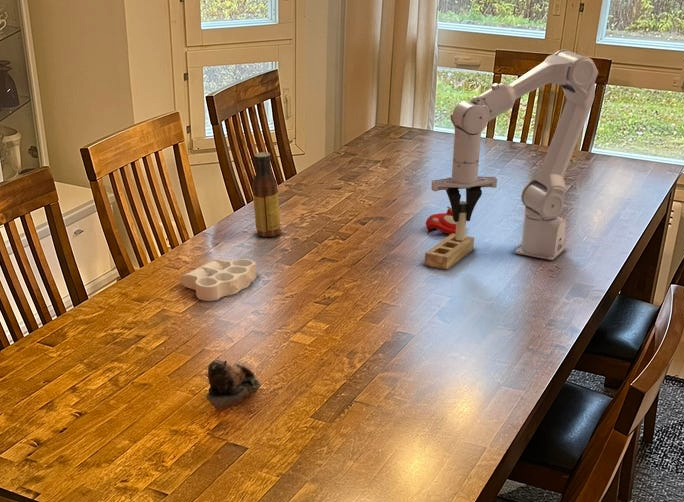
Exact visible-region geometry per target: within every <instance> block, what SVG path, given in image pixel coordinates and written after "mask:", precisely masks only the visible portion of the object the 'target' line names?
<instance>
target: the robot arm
mask: <svg viewBox="0 0 684 502" xmlns="http://www.w3.org/2000/svg"><path fill="white" fill-rule="evenodd" d="M598 75H599V70H598V68H597V66H596V64H595V62H594V60H593V59H592V58H591V57H588V56H583V55H580V54H578V53H575V52H573V51H571V50H570V49H565V48H564V49H563V48H561V49H559V50H558V51H556V52H554V53H553V54H550V55H548V56H547V57H546V58H545V59H544V61H542V62H541V63H539V64H538V65H536V66H535V67H533V68H531V69H530V70H528V72H526V73H525V74H522V75H521V76H520V77H518V78H517V79H515V80H513V81H512V82H510V83H509V84H506V83H503V82H499V83H498V82H495V83H492V84H491V85H490V87H491V88H490V89H487V90H486V91H484V92H483V93H481V94H479V95H474V96H472V99H471V100H462V101H460V102H458V103H457V104H456V105H455V107H454V109H453V111H452V113H451V114H450V121H451V123H452V125H453V128H454V138H453V151H452V169H451V177H446V178H440V179H433V180H431V191H432V192H433V193H434V192H439V191H445V192H446V195H447V197H448V200H449V203H450V208H452V213H453V220H454V221H455V222H458V219H459V204H460V202H461V198H462V195H461V193H460V190H462V189H463V190H464V189H465V202H467V203H468V204H467V217H466V222H470V221H471V218H472V215H473V212H474V209H475V207H476V205H477V203H478V201H479V200H480V198H481V197H482V194H483V190H482V188H483V189H484V188H491V189H496V188H497V186H498V178H496V176H482V175H479V167H480V165H479V163H480V153H481V152H480V151H481V140H482V132H483V131H484V129H485V128H486V127H487V124H488V123H489V122H491V121H492V120H493V119H496V118H497V117H499V116H501V115H503V114H505V113H506V112H508V111H509V110H511V109H513V107H514V105H515V102H516V100H517V99H520V98H522V97H523V96H525V95H527V94H529V93H532V92H533V91H536V90H537V89H539V88H541V87H543V86H545V85H547V84H553V85H559V86H560V88H561V89H562V91H563V93H564V95H565V98H566V102H565V105H564V108H563V110H562V113H561V115H560V118H559V121H558V123H557V125H556V128H555V131H554V134H553V136H552V139H551V142H550V144H549V146H548V149H547V152H546V155H545V157H544V160H543V162H542V165H541V167H540V169H539V170H538V171H536V172H534V173H533V174H532V175H531V178H530V179H529V181H528V183H527V184H526V185H525V186H524V187H523V189H522V192H521V196H520V197H521V198H520V199H521V203H522V204H523V206H524V219H523V230H522V238H521V245H520V246H519V247H518V248H516V249H515V251H514V253H515V254H518V255H523V256H527V257H533V258H539V259H543V260H548V261H553V260H554V259H555V258H556V257H558V256H559V255H560V254H561V253H562V252H563V251H564V250H565V248H564V245H565V243H564V242H565V235H566V229H567V220H566V219H565V218H562V217H559V215H560V214H561V212H562V210H563V209H564V205H565V196H566V192H567V186H566V183H565V179H564V178H565V177H564V176H565V174H566V173H567V172H566V171H567V169H568V166H569V164H570V161H571V160H572V156H573V154H574V151H575V149H576V147H577V144H578V142H579V139H580V137H581V134H582V131H583V128H584V126H585V123H586V121H587V119H588V116H589V113H590V111H591V109H592V105H593V103H594V101H595V97H596V93H595V92H596V79H597V77H598Z"/></svg>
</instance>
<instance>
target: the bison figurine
mask: <svg viewBox="0 0 684 502" xmlns="http://www.w3.org/2000/svg"><path fill="white" fill-rule="evenodd" d="M207 379H208V383H209V388H208V393H207V394H206V395H205V398H206V400H207V401H208V402H209V403H210V405H212V407H213V408H214V409H217V410H223V409H228V408H231V407H233V406H235V405H237V404H239V403H240V402H242V401H243V400H244V399H245V398H246V397H248V396H250V395H251V396H252V395H254V394H256V393H257V392H258V390H259V388H260V387H261V386H262V384H261V382H260V381H259V379H257V378H256V375H255V373H254V372H253V371H252V370H250V368H249V367H248V366H247V365H244V364H240V363H238V362H236V363H233V364H228V360H224V361H223V360H220V359H214V360H212V362H210V363H209V364H208V368H207Z"/></svg>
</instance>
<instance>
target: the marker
mask: <svg viewBox="0 0 684 502" xmlns="http://www.w3.org/2000/svg"><path fill="white" fill-rule="evenodd" d="M467 204H468V203H467V202H466V201H464V200H463V201H462V200H460V204H459V219H458V222H456V236H455V239H456V240H464V239H465V236H466V229H467V228H466V227H467V221H466V217H467Z"/></svg>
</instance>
